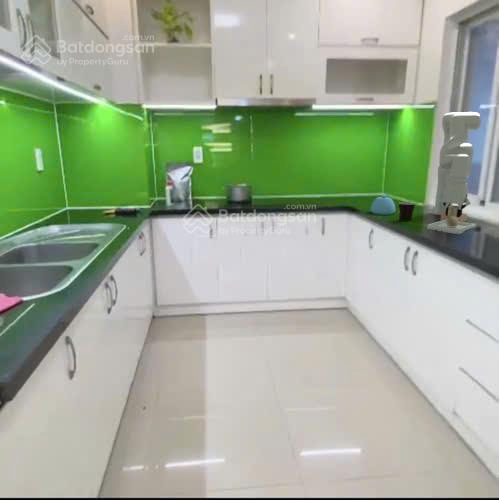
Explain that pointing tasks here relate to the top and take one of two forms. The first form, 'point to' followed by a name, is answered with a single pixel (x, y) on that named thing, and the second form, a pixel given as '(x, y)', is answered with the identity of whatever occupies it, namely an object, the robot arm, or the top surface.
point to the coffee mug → (406, 211)
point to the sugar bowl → (383, 206)
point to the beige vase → (452, 215)
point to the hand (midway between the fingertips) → (453, 215)
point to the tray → (451, 227)
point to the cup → (460, 219)
